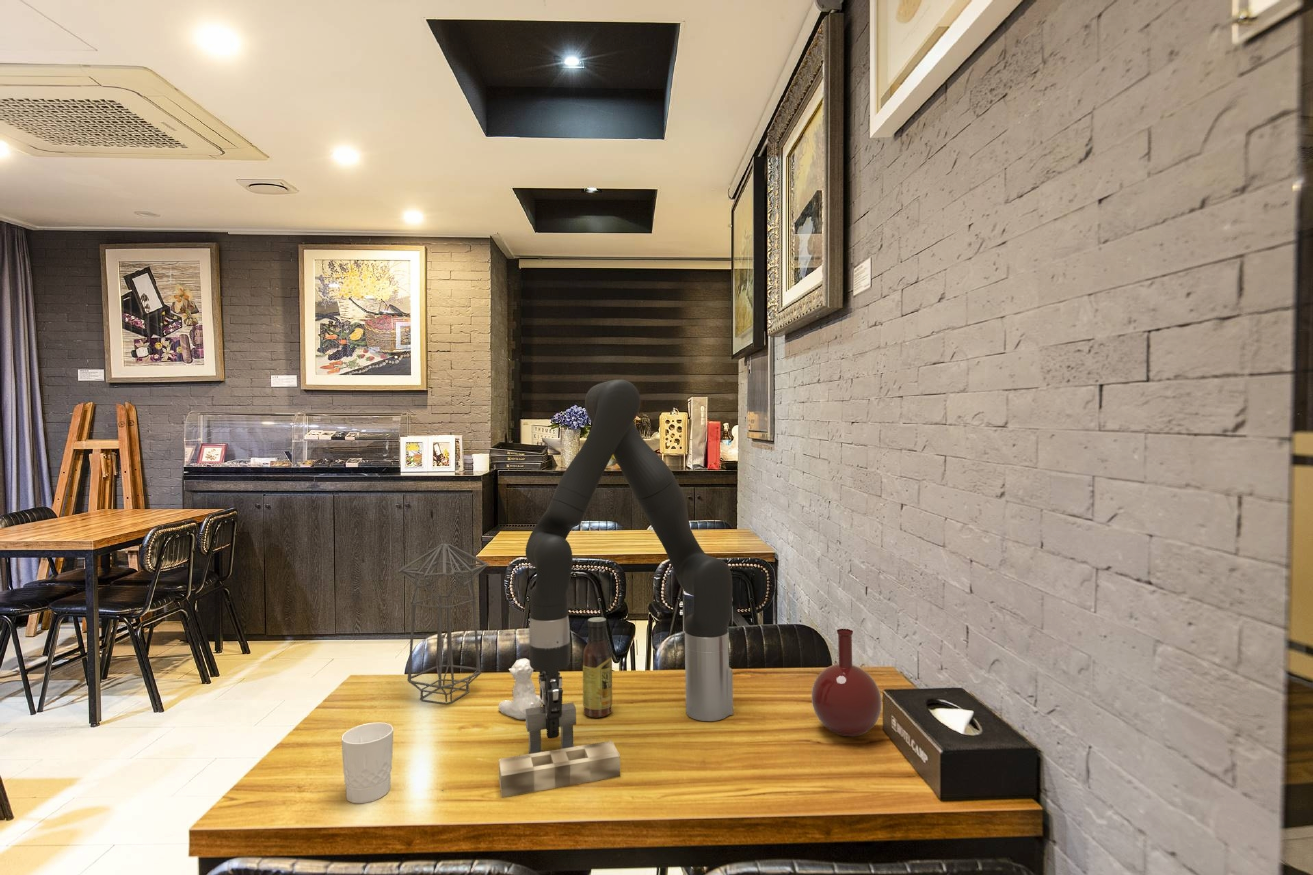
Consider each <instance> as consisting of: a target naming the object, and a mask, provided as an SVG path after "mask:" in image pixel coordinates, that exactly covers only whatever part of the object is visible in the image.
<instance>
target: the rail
mask: <svg viewBox="0 0 1313 875" xmlns="http://www.w3.org/2000/svg"><path fill="white" fill-rule="evenodd" d="M618 777H621V755H620V753H619V751H618V750H617V748H616V746H615V744H614V742H613V740H609V741H608V740H607V741H602V742H598V743H597V742H596V743H589V744H583V745H577V746H573V747H570V748H564V749H562V748H560V749H558V748H557V749H552V750H545V751H541V752H539V753H533V754H529V753H527V754H522V755H521V754H520V755H515V756H507V757H502V758H499V759H498V781H499V782H498V783H499V789H500V795H501V796H500V797H501V798H506V797H512V796H518V795H523V794H528V793H535V792H540V791H546V790H552V789H557V788H562V787H563V788H565V787H568V786H569V787H570V786H574V785H575V786H576V785H579V784H586V783H591V782H596V781H603V780H607V779H613V778H618Z"/></svg>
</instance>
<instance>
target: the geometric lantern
mask: <svg viewBox="0 0 1313 875" xmlns="http://www.w3.org/2000/svg"><path fill="white" fill-rule="evenodd" d="M446 552H447V554H446ZM441 553H442V561H439V560H440V557H441ZM446 555H448V558H449V561H448V560H447V558H446V557H447V556H446ZM461 555H463V556H465V557H467V558H469V559H471V560H473V561H475V562H476V563H470V562H468V561H467V560H466V559H465V558H463V557H462V556H461ZM427 556H428V557H427ZM425 557H427V558H426V560H424V561H423V563H422V564H421V565H420V566H419V567H418V568H409V567H410V566H412V565H413V564H415V563H417V562H419V561H421V560H422V559H424V558H425ZM436 560H437V561H436ZM439 564H442V572H437V573H436V572H435V573H434V571H435V570H436V568H437V567H438V565H439ZM453 566H454V567H455V568H454V567H453ZM476 566H477V567H476ZM487 566H490V564H489V563H488V562H486V561H484V560H481V558H477V557H476V556H474V555H472V554H470V553H469V552H466V551H464V550H462V549H460V548H458V547H456V546H454V545H452V544H450V543H441V544H439V545H438V546H436V547H435V548H433V549H432V550H430V551H428V552H426V553H425V554H423V555H421V556H419V557H418V558H416V559H415V560H413V561H411V562H409V563H407V564H406V565H404V566H402V567H400V568H399V569H398V573H400V574H401V575H402V576H404V577H405V578H406V579H407V580H408V581H409V582H411V584H413V585H414V586H415V590H414V592H413V593H414V594H413V597H412V600H411V603H410V605H411V615H410V640H409V641H410V642H409V658H408V669H407V670H408V671H407V683H409V684H411V685H412V686H414V688H416V689H417V690H419V692H420V698H419V700H420V701H421V702H425V703H433V704H439V705H445V706H446V705H449V704H453V703H454V702H456V701H458V699H461V698H462V697H464V696H465V695H467V694H468V693H470V684H471V683H472V682H473V681H474V680H475V679H477V678H478V677H479V676H480V675H481V674H482V672H481V660H480V659H481V658H480V649H479V637H478V635H479V634H478V625H477V623H478V621H477V620H478V619H477V602H476V601H477V600H476V599H477V597H476V594H475V588H474V580H475V578H476V577H478V575H480V574H481V572H482V571H483V570H484V569H486V568H487ZM432 567H433V568H432ZM447 568H449V569H450V570H451V571H450V573H447ZM464 569H466V570H464ZM423 570H426V571H425V573H424V572H422V571H423ZM430 570H431V571H430ZM469 573H470V574H469ZM413 574H414V575H413ZM465 574H469V575H465ZM420 575H421V576H423V578H420ZM456 575H457V576H456ZM435 576H437V577H435ZM443 576H452V577H453V578H454V579H455V582H454V583H453V585H452V587H451V588H450V590H449V591H448V593H447V594H440V593H439V591H438V590H437V589H436V588H435V586H434V585H433V583H435V582H437V581H438V580H440V579H441V578H442V577H443ZM431 577H435V578H434V579H432V580H431V581H430V579H431ZM461 578H462V581H461V580H460V579H461ZM465 579H466V581H465ZM468 579H469V580H468ZM420 582H424V584H420ZM427 582H428V583H427ZM457 583H458V585H457ZM456 585H457V586H456ZM466 585H467V587H468V590H469V594H470V596H468V595H467V596H466V595H455V594H456V592H457V590H458V589H459V587H460V586H461V587H465V586H466ZM431 587H432V588H433V589H434V591H435V592H436V594H437V595H436V594H435V593H434V591H433V590H432V588H431ZM420 588H422V589H423V588H427V589H428V590H429V593H430V594H431V595H432V596H431V597H428V598H425V599H422V600H418V601H417V597H418V593H419V589H420ZM453 590H454V591H453ZM452 592H453V593H452ZM451 593H452V594H451ZM442 598H446V604H445V605H442ZM452 598H463V599H470V600H467V601H462V602H459V603H457V604H454V605H450V602H451V600H453V599H452ZM430 600H435V603H437V605H428V604H419V603H423V602H426V601H430ZM468 603H471V604H472V615H473V626H474V646H475V647H474V648H475V667H472V666H462V665H455V664H454V656H453V640H452V621H451V619H452V618H451V608H455V607H457V606H461V605H464V604H468ZM417 607H421V608H422V607H424V608H425V607H426V608H435V609H438V612H437V613H438V614H437V615H438V616H437V631H436V632H437V634H436V635H437V636H436V655H435V666H433V667H430V668H428V669H426V670H422V671H421V672H419V673H416V674H414V675H412V670H413V669H412V667H413V666H412V665H413V664H412V663H413V646H414V634H415V621H416V610H417V609H416V608H417ZM443 609H446V642H447V643H446V647H447V648H446V651H447V653H446V654H447V657H446V658H447V660H446V662H447V664H442V663H443V662H442V659H443V658H442V655H443V654H442V653H443V651H442V647H443V646H442V645H443V644H442V640H443V639H442V638H443V633H442V631H443V616H442V614H443V612H442V611H443ZM442 668H446V670H445V672H444V675H443V678H442ZM449 668H450V677H451V678H450V679H448V678H446V677H447V673H448V670H449ZM454 668H455V669H465V670H472V671H474V672H473V673H472V674H471V675H469V676H467V677H464V678H462V679H460V680H459V679H455V676H454ZM435 669H436V673H437V678H438V680H436V681H433V682H431V683H428V682H427V683H426V682H421V681H415V680H413V679H414V678H417V677H420V676H422V675H424V674H426V673H429V672H430V671H433V670H435ZM446 682H451V683H447V684H445V683H446ZM436 683H437V684H436ZM461 683H464V684H463V685H461V686H459V687H455V686H456V685H459V684H461ZM419 686H423V687H422V688H421V687H419ZM427 688H435V689H433V690H425V689H427ZM445 689H450V690H449V692H446V690H445ZM437 690H441V691H442V692H441V691H440V692H439V691H437ZM458 690H459V691H466V692H464V693H463V694H461V695H459V696H457V697H455V699H453V693H455V692H456V691H458ZM424 693H426V694H425V695H424ZM431 694H437V695H442V696H443V695H444V696H445V697H444V698H445V699H444V700H445V702H444V701H438V700H429V699H424V698H426V697H427V696H429V695H431ZM448 695H450V698H449V699H450V700H449V701H448Z"/></svg>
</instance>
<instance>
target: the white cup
mask: <svg viewBox="0 0 1313 875" xmlns="http://www.w3.org/2000/svg"><path fill="white" fill-rule="evenodd" d="M393 726H394V725H392V724H390V723H389V722H388V723H386V722H369V723H364V724H360V725H357V726H354V727H352V728H350V729H348V730H346V731H344V733H343V734H342V736H341V751H342V752H341V753H342V754H341V755H342V765H343V767H342V768H343V770H342V771H343V779H344V781H343V782H344V783H345V796H346V800H347V801H349V802H350V803H352V804H365V803H371V802H375V801H376V800H379V799H381V798H383V797H384V796H386V795H387V794H388V793H389V791H390V789H391V785H392V784H391V781H392V780H391V779H392V778H391V777H392V774H391V773H392V769H393V751H394V750H393V748H394V727H393Z"/></svg>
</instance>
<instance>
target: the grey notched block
mask: <svg viewBox="0 0 1313 875" xmlns="http://www.w3.org/2000/svg"><path fill="white" fill-rule="evenodd" d="M554 710H556V708H552V709H551V711H554ZM545 714H546V706H543V707H542V706H540V707H536V708H529V709H526V719H525V728H526V732H528V754H533V753H539V752H542V730H547V721H546V716H545ZM575 725H577V708H576V706H575V704H574V702H566V703H562V717H560V718H559V728H560V742H561V743H560V749H564V748H570V747H574V726H575Z"/></svg>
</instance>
